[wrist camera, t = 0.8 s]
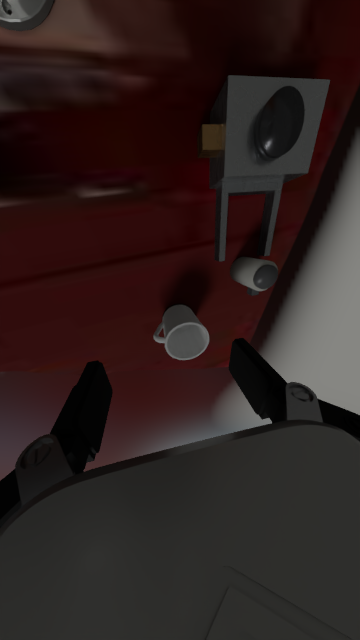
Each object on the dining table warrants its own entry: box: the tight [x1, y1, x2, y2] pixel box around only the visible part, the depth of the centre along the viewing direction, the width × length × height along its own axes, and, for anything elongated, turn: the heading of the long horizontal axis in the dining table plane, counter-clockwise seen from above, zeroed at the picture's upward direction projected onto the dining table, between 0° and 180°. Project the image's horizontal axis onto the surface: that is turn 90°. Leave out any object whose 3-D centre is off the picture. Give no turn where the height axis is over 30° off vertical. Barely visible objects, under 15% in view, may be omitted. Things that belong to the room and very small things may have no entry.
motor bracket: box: [197, 75, 330, 261], centre depth 25 cm, size 21×17×8 cm
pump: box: [230, 257, 278, 296], centre depth 32 cm, size 7×6×9 cm
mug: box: [154, 304, 209, 360], centre depth 34 cm, size 11×9×10 cm
